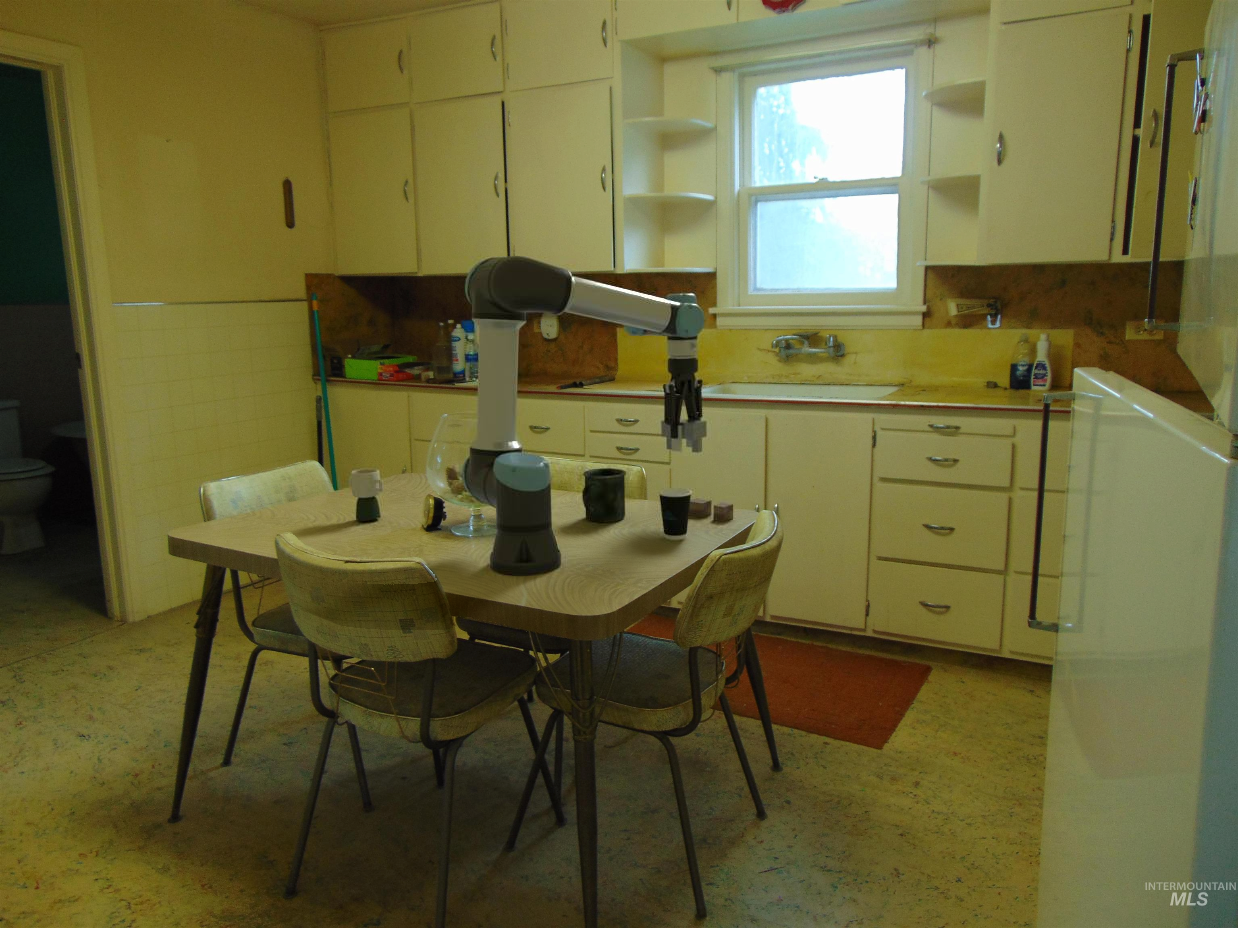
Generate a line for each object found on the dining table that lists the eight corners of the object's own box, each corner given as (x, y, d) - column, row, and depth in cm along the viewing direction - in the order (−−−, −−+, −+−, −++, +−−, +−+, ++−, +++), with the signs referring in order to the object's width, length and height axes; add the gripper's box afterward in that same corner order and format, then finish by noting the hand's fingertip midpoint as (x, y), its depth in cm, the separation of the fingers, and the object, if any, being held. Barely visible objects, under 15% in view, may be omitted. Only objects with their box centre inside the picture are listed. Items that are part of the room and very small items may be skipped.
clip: (706, 450, 225) (706, 420, 223) (693, 453, 221) (693, 423, 219) (674, 446, 231) (674, 418, 230) (661, 450, 227) (661, 420, 226)
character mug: (394, 519, 233) (390, 470, 230) (375, 525, 226) (371, 475, 224) (361, 515, 237) (358, 467, 235) (342, 521, 231) (338, 472, 229)
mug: (635, 516, 232) (634, 470, 229) (603, 528, 220) (602, 480, 217) (600, 511, 237) (599, 466, 235) (567, 523, 225) (566, 476, 223)
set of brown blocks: (724, 521, 224) (724, 507, 224) (667, 511, 236) (667, 497, 235) (733, 518, 227) (733, 504, 227) (676, 508, 239) (676, 494, 238)
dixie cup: (659, 541, 207) (658, 495, 205) (657, 532, 215) (657, 488, 213) (693, 541, 207) (693, 495, 205) (690, 532, 215) (690, 487, 213)
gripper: (672, 360, 212) (673, 456, 217) (716, 354, 226) (717, 444, 231) (647, 359, 217) (649, 453, 222) (692, 353, 231) (693, 442, 235)
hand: (684, 448), depth 226 cm, fingers closed on clip, 5 cm apart
